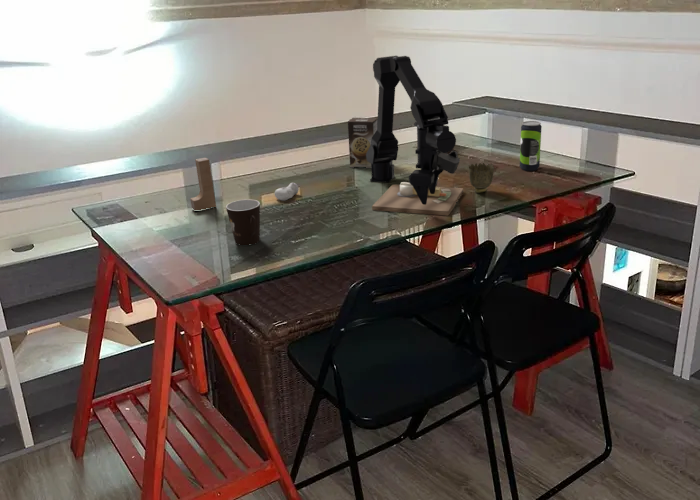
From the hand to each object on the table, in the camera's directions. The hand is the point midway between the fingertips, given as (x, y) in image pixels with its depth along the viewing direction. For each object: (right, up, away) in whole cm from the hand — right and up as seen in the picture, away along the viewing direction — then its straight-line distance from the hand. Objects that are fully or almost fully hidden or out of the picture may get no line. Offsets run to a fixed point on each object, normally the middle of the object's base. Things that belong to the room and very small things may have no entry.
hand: (428, 199), depth 189 cm
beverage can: (+36, +12, +29) cm, 48 cm away
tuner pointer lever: (-1, +2, +8) cm, 8 cm away
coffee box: (-17, +15, +44) cm, 49 cm away
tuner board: (-2, 0, +7) cm, 7 cm away
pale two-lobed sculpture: (-41, +1, +17) cm, 44 cm away
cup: (+17, +3, +11) cm, 20 cm away
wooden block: (-66, -2, +12) cm, 67 cm away
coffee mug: (-49, -13, -15) cm, 53 cm away
